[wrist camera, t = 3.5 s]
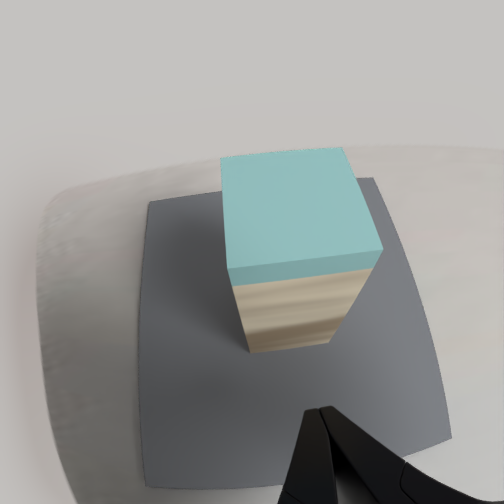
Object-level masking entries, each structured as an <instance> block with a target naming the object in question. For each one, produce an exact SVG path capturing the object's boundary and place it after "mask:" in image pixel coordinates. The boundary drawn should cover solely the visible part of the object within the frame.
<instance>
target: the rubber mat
mask: <svg viewBox="0 0 504 504" xmlns="http://www.w3.org/2000/svg"><path fill="white" fill-rule="evenodd" d="M356 180H357V182H358V185H359V187H360V189H361V192H362V194H363V197H364V199H365V202H366V204H367V207H368V209H369V212H370V214H371V217H372V219H373V222H374V225H375V227H376V230H377V233H378V235H379V238H380V241H381V244H382V246H383V251H382V253H381V255H380V257H379V259H378V261H377V262H376V264H375V266H374V268H373V270H372V271H371V273H370V275H369V277H368V279H367V280H366V282H365V284H364V286H363V287H362V289H361V291H360V292H359V294H358V296H357V298H356V299H355V301H354V303H353V304H352V306H351V308H350V309H349V311H348V312H347V314H346V316H345V317H344V319H343V321H342V322H341V324H340V325H339V327H338V329H337V330H336V332H335V333H334V335H333V336H332V338H331V339H330V341H329V343H323V344H317V345H311V346H304V347H297V348H290V349H283V350H275V351H267V352H259V353H250V350H249V346H248V343H247V339H246V336H245V332H244V328H243V325H242V321H241V318H240V314H239V310H238V307H237V303H236V300H235V296H234V292H233V288H232V285H231V281H230V277H229V274H228V270H227V259H226V244H225V229H224V213H223V196H222V191H220V192H212V193H205V194H198V195H191V196H184V197H177V198H170V199H164V200H158V201H151V202H150V203H149V211H148V219H147V228H146V237H145V247H144V258H143V270H142V283H141V299H140V321H139V408H140V429H141V444H142V457H143V468H144V477H145V486H147V487H159V488H174V489H237V488H253V487H264V486H274V485H283V484H284V482H285V479H286V476H287V472H288V469H289V465H290V462H291V459H292V455H293V452H294V448H295V444H296V441H297V437H298V433H299V430H300V426H301V422H302V418H303V414H304V411H305V410H307V409H313V408H318V409H319V408H320V407H324V406H330V405H331V406H334V407H335V408H336V409H337V410H339V411H340V412H341V413H342V414H344V415H345V416H346V417H348V418H349V419H350V420H351V421H353V422H354V423H355V424H357V425H358V426H359V427H360V428H362V429H363V430H364V431H366V432H367V433H368V434H370V435H371V436H372V437H374V438H375V439H376V440H378V441H379V442H380V443H382V444H383V445H384V446H386V447H387V448H388V449H390V450H391V451H392V452H394V453H395V454H397V455H398V456H399V457H404V456H407V455H410V454H413V453H416V452H418V451H421V450H424V449H426V448H429V447H431V446H434V445H436V444H439V443H441V442H444V441H446V440H448V439H451V438H452V436H451V428H450V422H449V415H448V409H447V404H446V398H445V393H444V388H443V383H442V378H441V373H440V369H439V364H438V360H437V356H436V352H435V348H434V344H433V340H432V336H431V333H430V329H429V325H428V322H427V318H426V315H425V312H424V308H423V305H422V302H421V299H420V295H419V292H418V289H417V286H416V283H415V280H414V277H413V274H412V271H411V269H410V266H409V263H408V260H407V257H406V255H405V252H404V249H403V247H402V244H401V242H400V239H399V236H398V234H397V231H396V229H395V226H394V224H393V222H392V219H391V217H390V214H389V212H388V210H387V207H386V205H385V203H384V201H383V198H382V196H381V194H380V192H379V189H378V187H377V185H376V183H375V181H374V179H373V178H356Z"/></svg>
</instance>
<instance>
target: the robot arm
mask: <svg viewBox="0 0 504 504" xmlns="http://www.w3.org/2000/svg"><path fill="white" fill-rule="evenodd" d="M405 462H406V461H405V460H404V459H402V458H401V457H399V456H398V455H397V454H395V453H394V452H392V451H391V450H390V449H388V448H387V447H386V446H384V445H383V444H382V443H380V442H379V441H378V440H376V439H375V438H374V437H372V436H371V435H370V434H368V433H367V432H366V431H364V430H363V429H362V428H360V427H359V426H358V425H357V424H355V423H354V422H353V421H351V420H350V419H349V418H348V417H346V416H345V415H344V414H342V413H341V412H340V411H339V410H337V409H336V408H335V407H334V406H331V405H330V406H324V407H320V408H319V409H318V408H313V409H307V410H305V411H304V414H303V418H302V422H301V426H300V430H299V433H298V437H297V441H296V444H295V448H294V452H293V455H292V459H291V462H290V465H289V469H288V472H287V476H286V479H285V482H284V485H283V489H282V492H281V494H280V497H279V500H278V503H277V504H504V501H495V502H491V501H483V500H479V499H476V498H473V497H471V496H468V495H466V494H464V493H462V492H460V491H457V490H455V489H453V488H451V487H449V486H447V485H445V484H442V483H441V482H439V481H437V480H435V479H433V478H431V477H429V476H428V475H426V474H424V473H423V472H421V471H420V470H418V469H417V468H415V467H414V466H412V465H411V464H409V463H408V462H406V463H405Z"/></svg>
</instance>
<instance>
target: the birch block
mask: <svg viewBox="0 0 504 504" xmlns="http://www.w3.org/2000/svg"><path fill="white" fill-rule="evenodd" d="M220 159H221V178H222V196H223V213H224V229H225V244H226V259H227V270H228V274H229V277H230V281H231V285H232V288H233V292H234V296H235V300H236V303H237V307H238V310H239V314H240V318H241V321H242V325H243V328H244V332H245V336H246V339H247V343H248V346H249V350H250V353H259V352H267V351H275V350H283V349H290V348H297V347H304V346H311V345H317V344H323V343H329V341H330V339H331V338H332V336H333V335H334V333H335V332H336V330H337V329H338V327H339V325H340V324H341V322H342V321H343V319H344V317H345V316H346V314H347V312H348V311H349V309H350V308H351V306H352V304H353V303H354V301H355V299H356V298H357V296H358V294H359V292H360V291H361V289H362V287H363V286H364V284H365V282H366V280H367V279H368V277H369V275H370V273H371V271H372V270H373V268H374V266H375V264H376V262H377V261H378V259H379V257H380V255H381V253H382V251H383V246H382V244H381V241H380V238H379V235H378V233H377V230H376V227H375V225H374V222H373V219H372V217H371V214H370V212H369V209H368V207H367V204H366V202H365V199H364V197H363V194H362V192H361V189H360V187H359V185H358V182H357V180H356V178H355V175H354V173H353V171H352V169H351V166H350V164H349V162H348V160H347V157H346V155H345V153H344V151H343V149H342V148H322V149H306V150H293V151H281V152H270V153H260V154H250V155H241V156H233V157H225V158H220Z"/></svg>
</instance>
